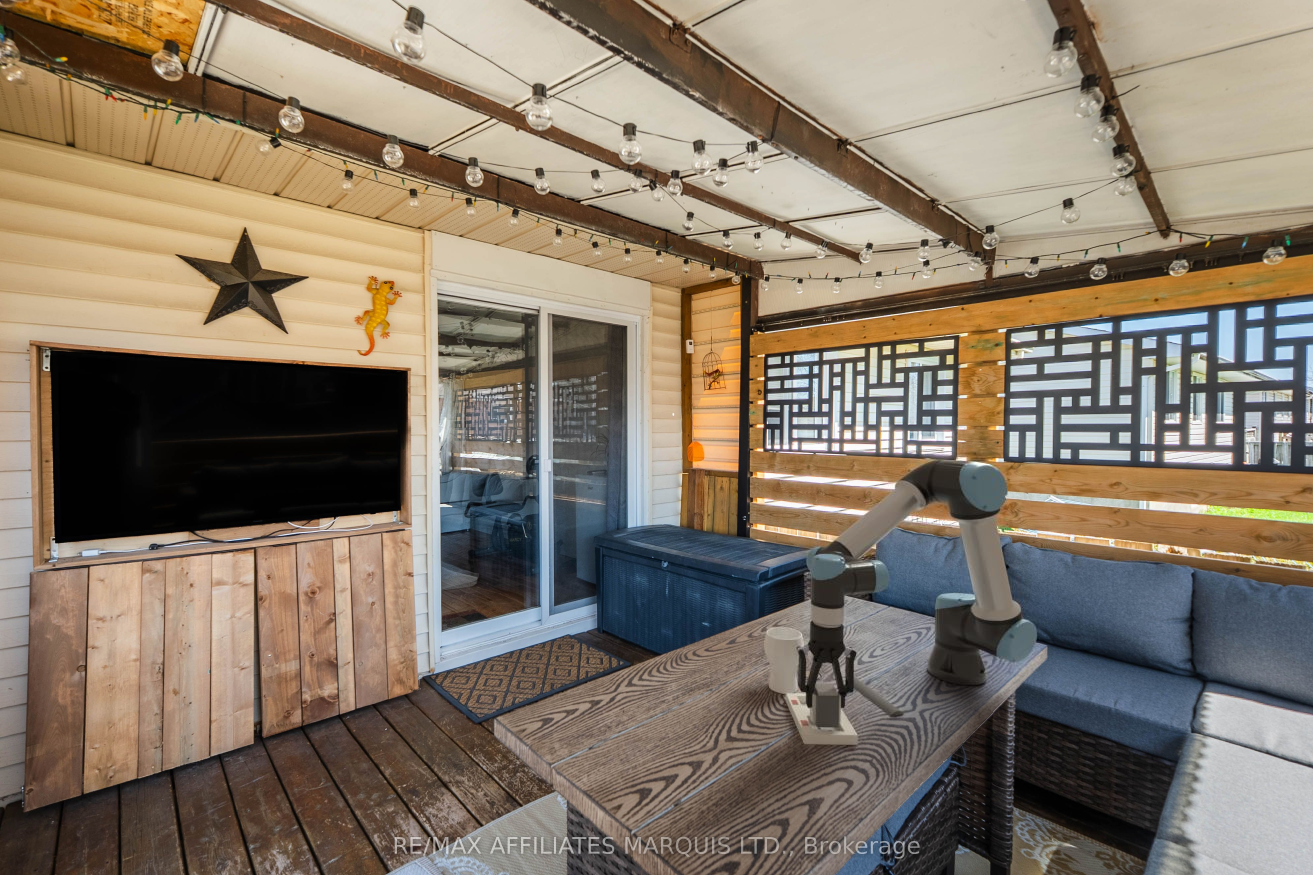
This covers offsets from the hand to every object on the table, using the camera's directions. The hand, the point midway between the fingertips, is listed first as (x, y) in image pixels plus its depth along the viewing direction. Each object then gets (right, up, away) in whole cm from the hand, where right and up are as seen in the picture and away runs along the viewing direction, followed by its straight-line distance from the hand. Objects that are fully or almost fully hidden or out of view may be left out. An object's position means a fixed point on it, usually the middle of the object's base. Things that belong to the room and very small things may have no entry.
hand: (824, 720), depth 138 cm
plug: (0, 0, 0) cm, 0 cm away
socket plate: (0, -3, +5) cm, 6 cm away
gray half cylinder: (+18, -3, +18) cm, 26 cm away
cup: (-5, -2, +23) cm, 24 cm away
